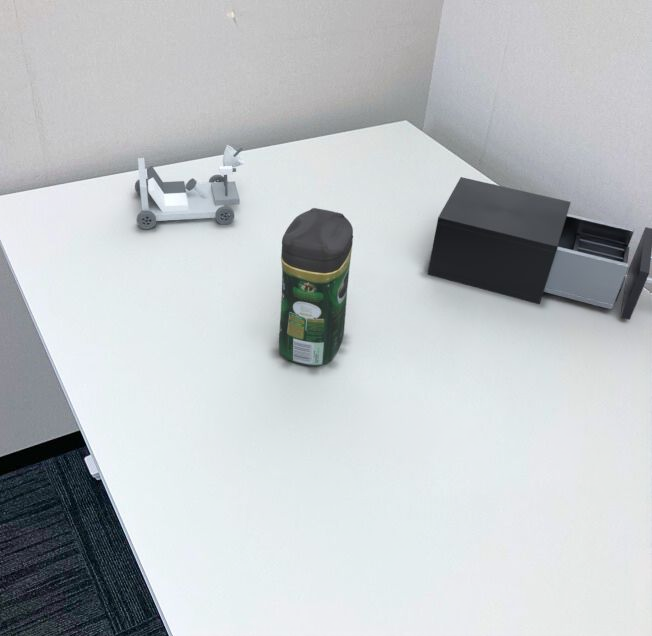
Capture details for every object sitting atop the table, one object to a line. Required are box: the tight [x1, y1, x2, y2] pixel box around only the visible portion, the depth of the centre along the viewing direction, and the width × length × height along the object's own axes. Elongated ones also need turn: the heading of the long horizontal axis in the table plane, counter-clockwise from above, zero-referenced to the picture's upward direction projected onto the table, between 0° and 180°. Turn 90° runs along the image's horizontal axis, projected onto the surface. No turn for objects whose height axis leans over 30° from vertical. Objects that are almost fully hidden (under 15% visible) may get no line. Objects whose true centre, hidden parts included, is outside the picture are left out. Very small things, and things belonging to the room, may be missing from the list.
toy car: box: [134, 144, 245, 230], centre depth 121 cm, size 18×10×12 cm
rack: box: [572, 235, 630, 303], centre depth 109 cm, size 8×9×4 cm
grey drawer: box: [543, 212, 652, 320], centre depth 108 cm, size 20×13×8 cm, turn 67°
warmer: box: [427, 176, 571, 305], centre depth 112 cm, size 17×14×10 cm
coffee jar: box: [278, 207, 354, 367], centre depth 93 cm, size 10×8×19 cm
